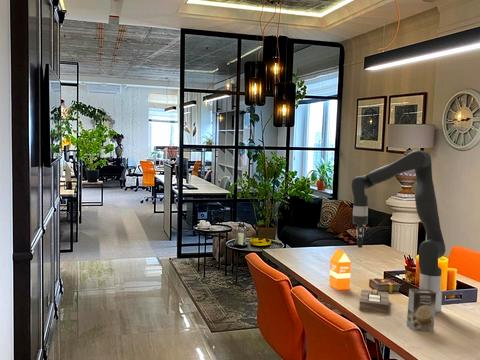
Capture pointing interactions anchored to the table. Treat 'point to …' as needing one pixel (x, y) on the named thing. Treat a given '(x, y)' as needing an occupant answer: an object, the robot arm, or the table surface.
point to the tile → (374, 298)
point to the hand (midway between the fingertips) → (359, 245)
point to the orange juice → (340, 270)
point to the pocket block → (374, 306)
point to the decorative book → (384, 285)
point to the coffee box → (421, 310)
